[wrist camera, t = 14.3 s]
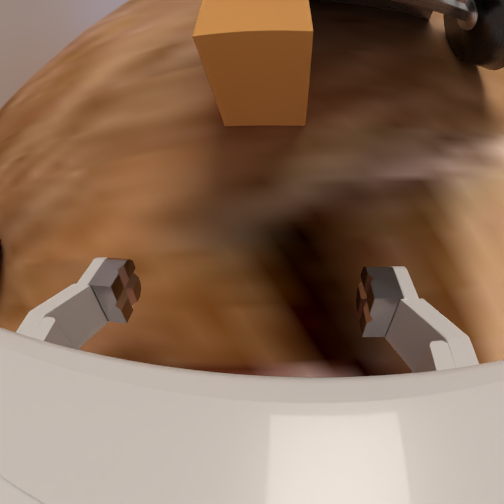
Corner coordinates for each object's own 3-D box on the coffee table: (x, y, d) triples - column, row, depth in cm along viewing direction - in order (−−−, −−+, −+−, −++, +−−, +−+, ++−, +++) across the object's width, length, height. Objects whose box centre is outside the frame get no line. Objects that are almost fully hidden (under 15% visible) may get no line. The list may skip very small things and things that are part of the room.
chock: (305, 126, 18) (313, 31, 10) (224, 126, 18) (192, 36, 10) (302, 68, 18) (304, -22, 11) (230, 70, 19) (207, -18, 11)
